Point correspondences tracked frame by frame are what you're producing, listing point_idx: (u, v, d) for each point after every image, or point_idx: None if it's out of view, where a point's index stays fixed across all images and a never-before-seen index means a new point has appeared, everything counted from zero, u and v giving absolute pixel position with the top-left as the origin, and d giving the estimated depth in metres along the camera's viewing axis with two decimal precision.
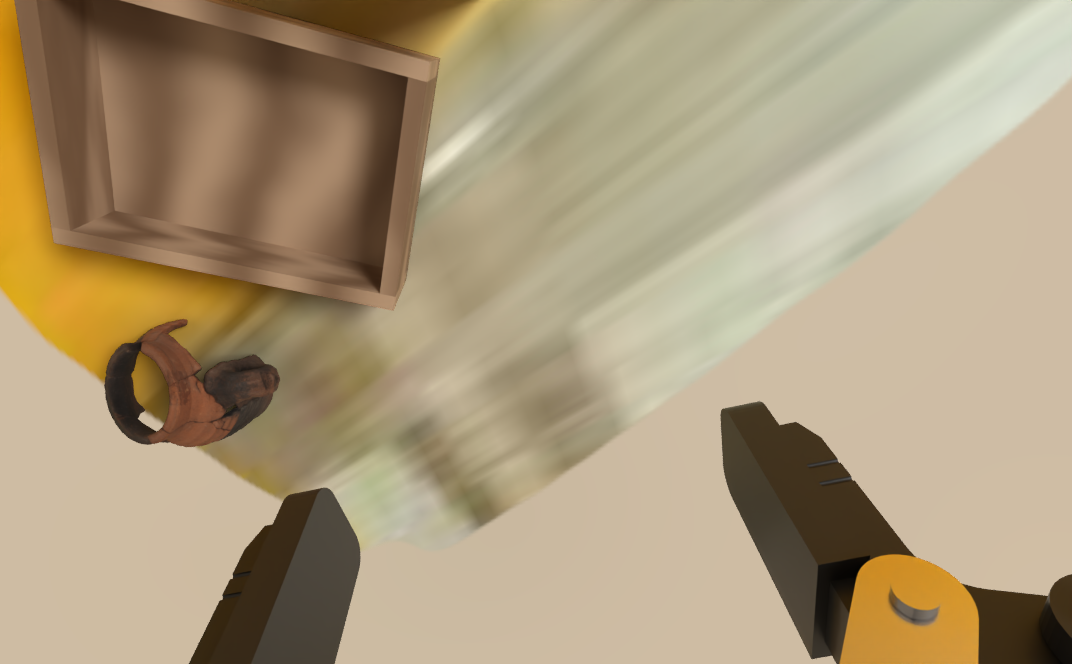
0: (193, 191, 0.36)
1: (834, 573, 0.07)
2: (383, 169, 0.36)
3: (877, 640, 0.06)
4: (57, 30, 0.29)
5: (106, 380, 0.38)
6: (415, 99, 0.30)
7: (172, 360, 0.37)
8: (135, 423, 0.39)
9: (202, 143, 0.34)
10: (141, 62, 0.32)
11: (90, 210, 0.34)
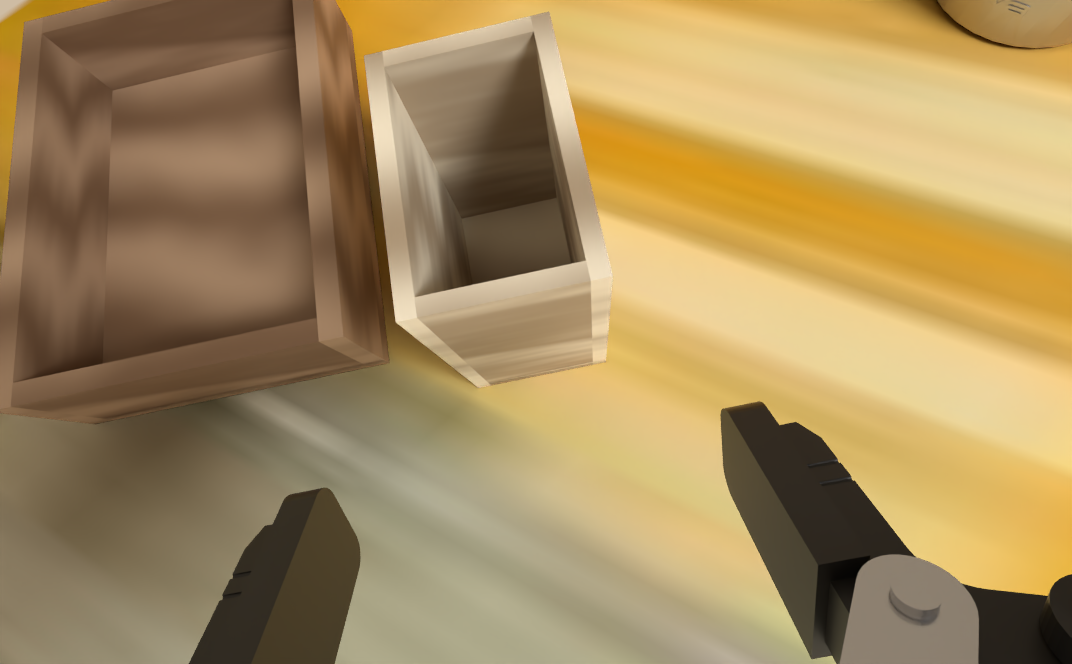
0: (152, 154, 0.30)
1: (834, 573, 0.07)
2: None
3: (877, 640, 0.06)
4: (259, 2, 0.28)
5: None
6: (292, 335, 0.22)
7: None
8: None
9: (208, 151, 0.30)
10: (274, 85, 0.30)
11: (88, 58, 0.29)
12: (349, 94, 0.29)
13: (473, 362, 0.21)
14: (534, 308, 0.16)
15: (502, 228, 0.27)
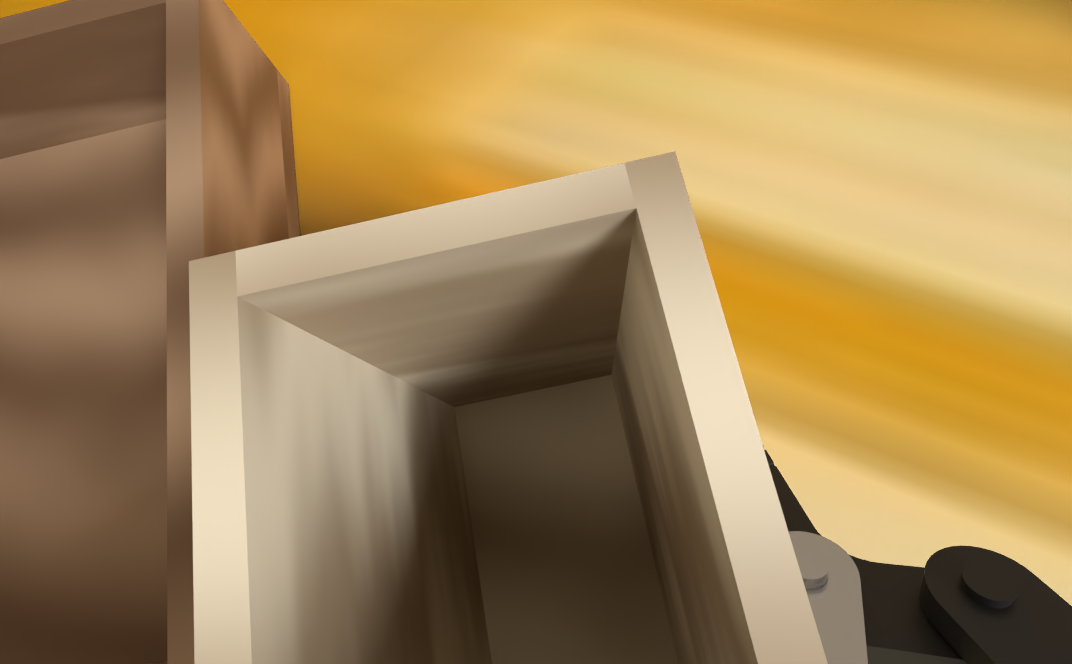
0: None
1: None
2: (73, 623, 0.16)
3: None
4: (124, 50, 0.17)
5: None
6: None
7: None
8: None
9: (58, 280, 0.19)
10: (164, 173, 0.20)
11: None
12: (275, 194, 0.18)
13: None
14: None
15: (522, 428, 0.16)
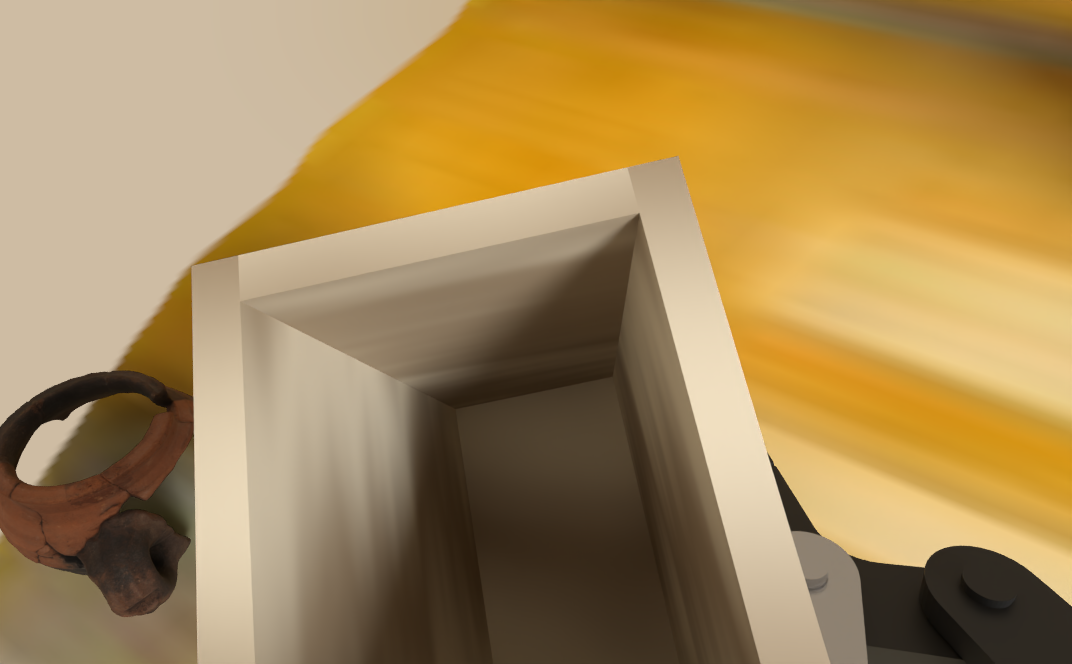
0: None
1: None
2: None
3: None
4: None
5: (99, 375, 0.27)
6: None
7: (149, 461, 0.25)
8: (29, 429, 0.26)
9: None
10: None
11: None
12: None
13: None
14: None
15: (523, 430, 0.16)
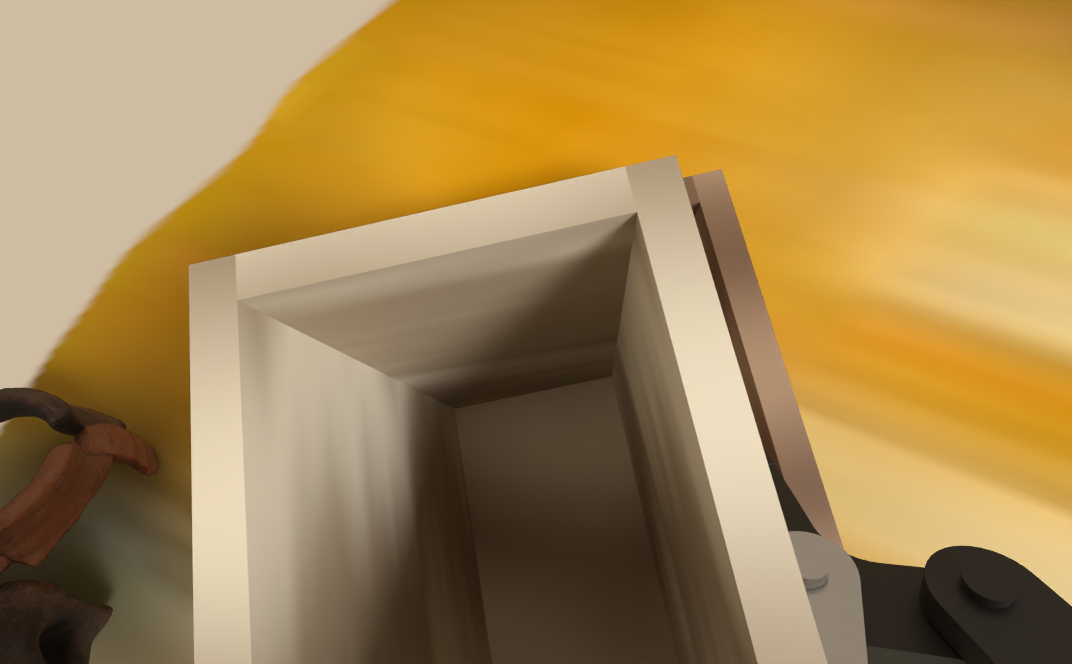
0: None
1: None
2: None
3: None
4: None
5: None
6: None
7: (38, 513, 0.18)
8: None
9: None
10: None
11: None
12: None
13: None
14: None
15: (522, 430, 0.16)
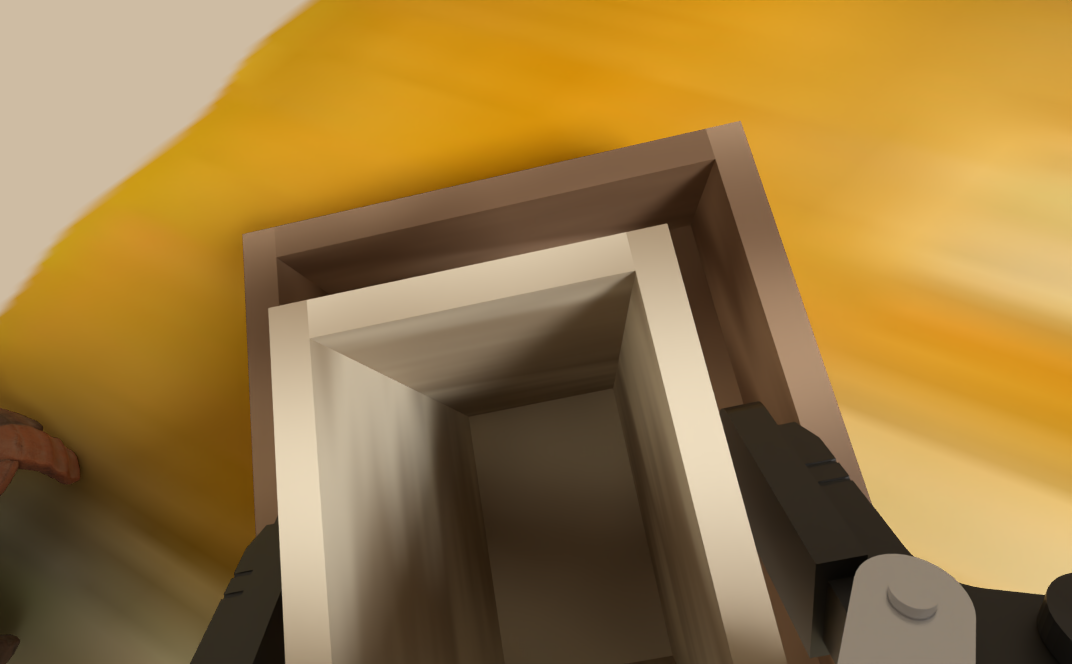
0: None
1: (832, 572, 0.07)
2: None
3: (875, 639, 0.06)
4: (631, 197, 0.17)
5: None
6: None
7: None
8: None
9: None
10: None
11: (329, 275, 0.18)
12: None
13: None
14: None
15: (530, 436, 0.18)
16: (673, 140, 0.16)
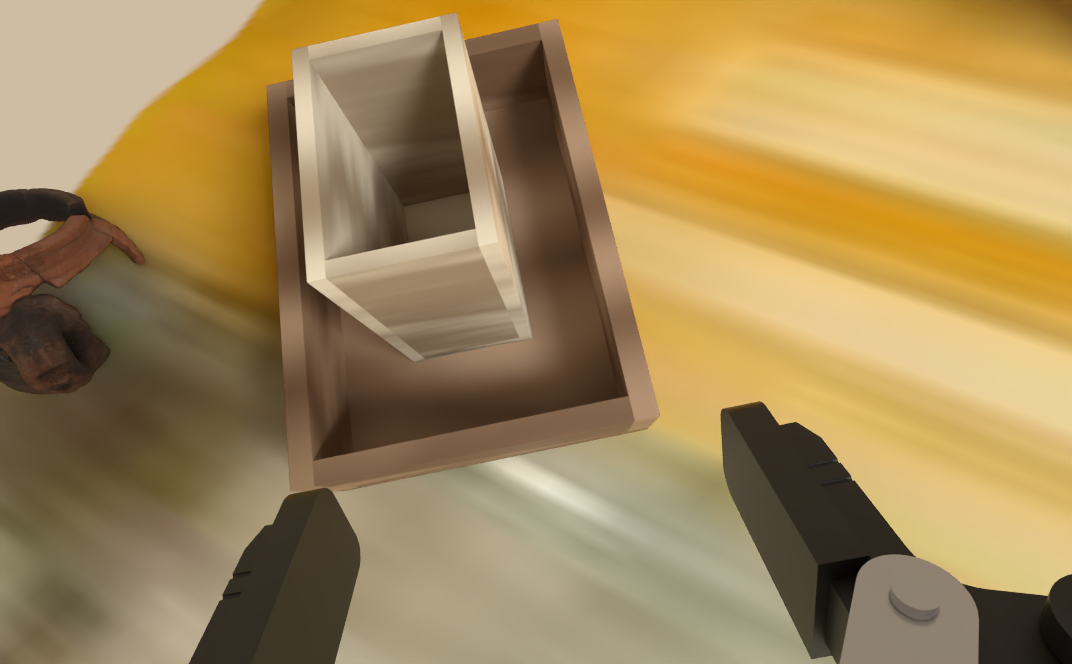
0: None
1: (834, 573, 0.07)
2: (488, 407, 0.26)
3: (877, 640, 0.06)
4: (499, 67, 0.28)
5: (17, 190, 0.28)
6: (606, 413, 0.22)
7: (62, 251, 0.26)
8: None
9: None
10: (495, 145, 0.30)
11: None
12: None
13: (398, 331, 0.23)
14: (436, 273, 0.18)
15: (441, 216, 0.29)
16: (519, 30, 0.27)
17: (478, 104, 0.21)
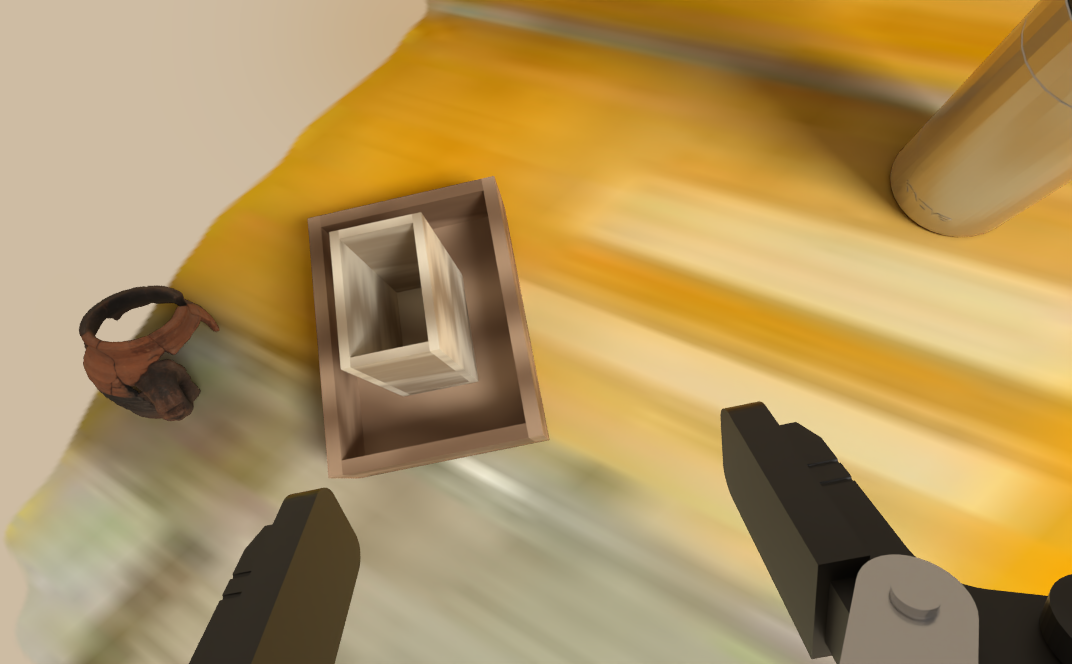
0: None
1: (834, 573, 0.07)
2: (449, 426, 0.42)
3: (877, 640, 0.06)
4: (457, 204, 0.43)
5: (140, 288, 0.44)
6: (512, 433, 0.37)
7: (175, 331, 0.42)
8: (101, 318, 0.42)
9: None
10: (457, 249, 0.46)
11: None
12: (513, 260, 0.44)
13: (391, 383, 0.38)
14: (409, 361, 0.33)
15: (420, 299, 0.44)
16: (469, 183, 0.42)
17: (436, 254, 0.36)
